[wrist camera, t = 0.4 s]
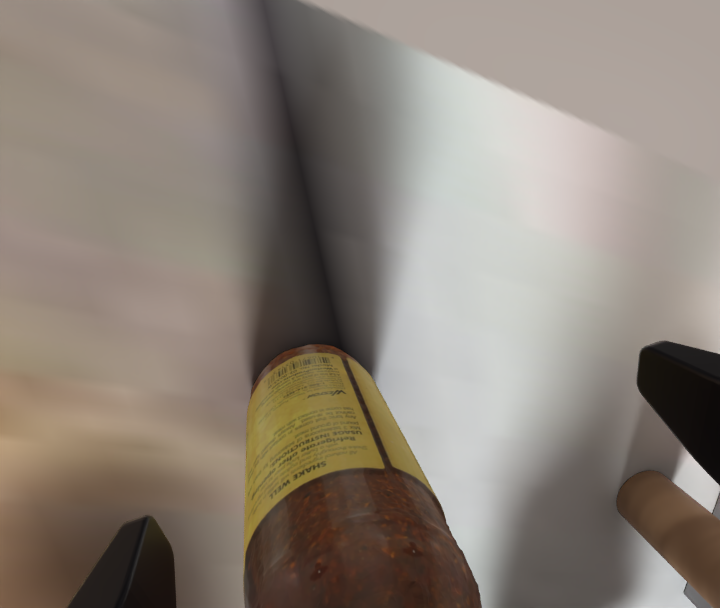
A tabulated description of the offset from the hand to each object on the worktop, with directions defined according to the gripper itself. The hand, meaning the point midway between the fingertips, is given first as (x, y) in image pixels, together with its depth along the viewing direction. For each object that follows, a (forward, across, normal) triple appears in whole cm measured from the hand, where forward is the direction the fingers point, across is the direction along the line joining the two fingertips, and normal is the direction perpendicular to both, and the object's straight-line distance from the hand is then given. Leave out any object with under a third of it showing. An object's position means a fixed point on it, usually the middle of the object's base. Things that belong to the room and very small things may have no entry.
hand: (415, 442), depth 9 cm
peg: (+10, -16, +21) cm, 28 cm away
